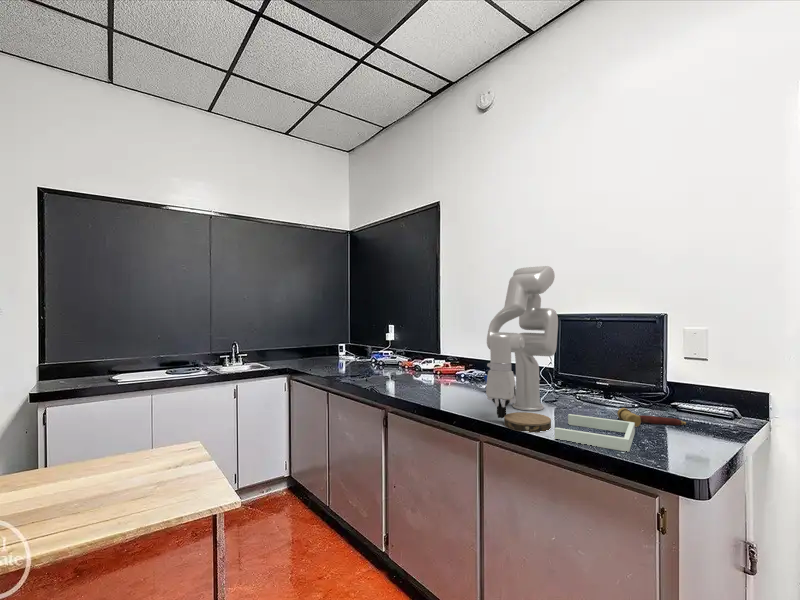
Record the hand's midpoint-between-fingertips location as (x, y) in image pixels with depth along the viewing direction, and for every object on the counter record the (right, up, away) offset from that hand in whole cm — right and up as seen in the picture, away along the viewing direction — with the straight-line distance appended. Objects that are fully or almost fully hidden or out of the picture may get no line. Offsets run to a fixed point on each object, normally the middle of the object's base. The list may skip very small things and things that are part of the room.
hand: (501, 417), depth 148 cm
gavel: (+54, -2, -4) cm, 54 cm away
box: (+26, -1, -18) cm, 32 cm away
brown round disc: (+8, -2, -5) cm, 10 cm away
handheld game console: (+15, -4, +53) cm, 55 cm away
